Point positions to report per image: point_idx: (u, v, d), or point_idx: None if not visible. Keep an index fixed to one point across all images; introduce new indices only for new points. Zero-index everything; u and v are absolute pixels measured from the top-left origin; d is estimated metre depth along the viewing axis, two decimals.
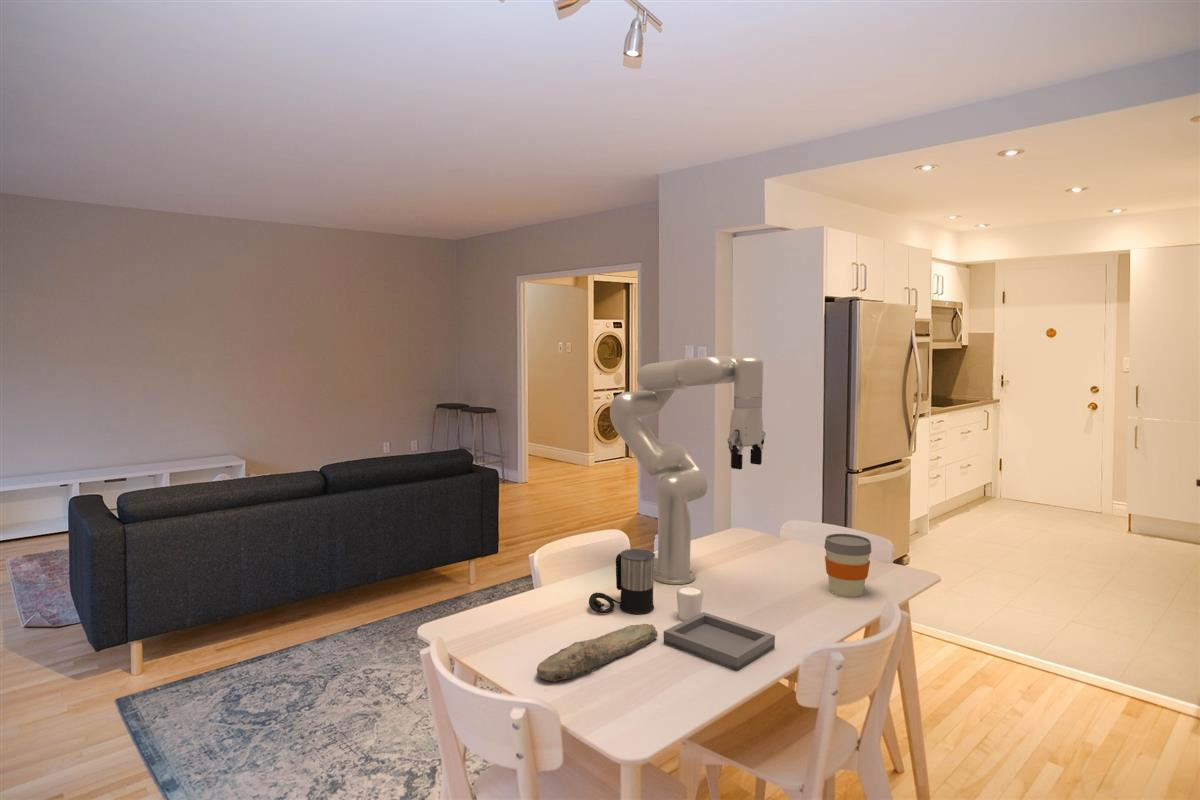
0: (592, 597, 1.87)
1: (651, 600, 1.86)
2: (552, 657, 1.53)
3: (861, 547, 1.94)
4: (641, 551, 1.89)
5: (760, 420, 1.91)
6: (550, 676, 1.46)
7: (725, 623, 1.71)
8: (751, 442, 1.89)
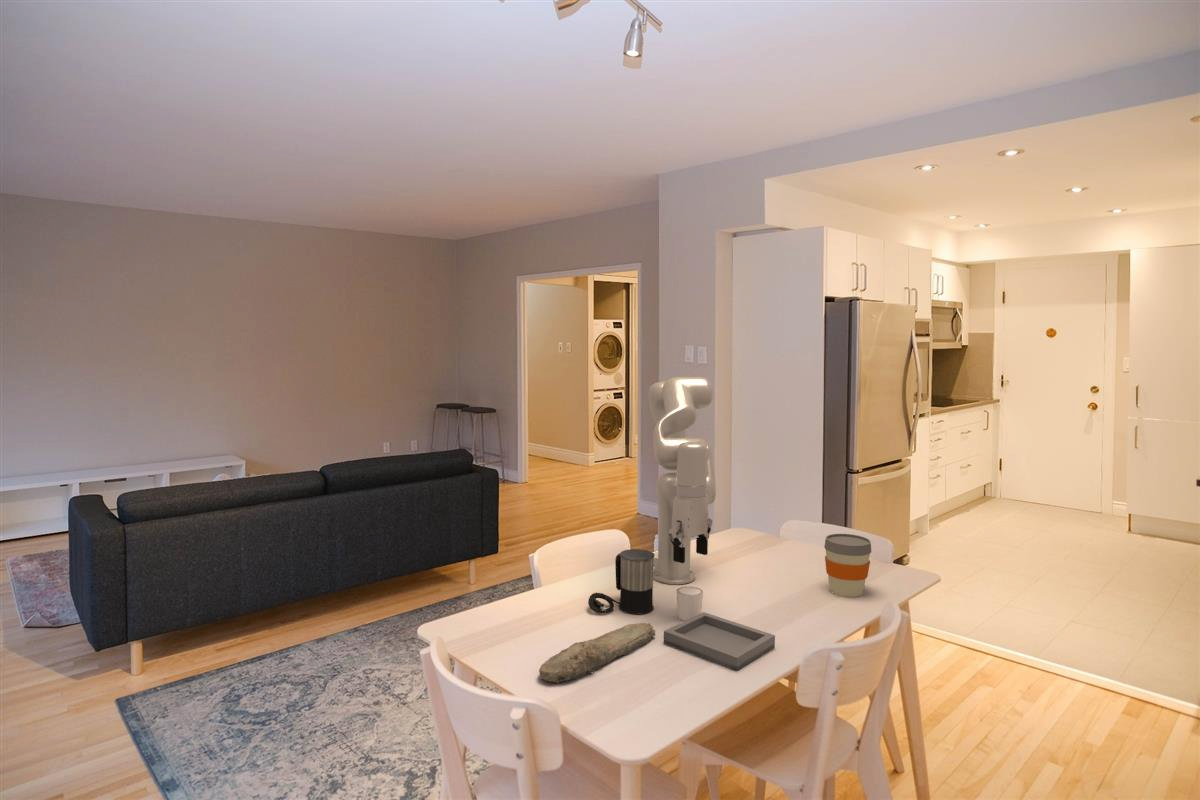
0: (592, 597, 1.87)
1: (651, 600, 1.86)
2: (554, 658, 1.52)
3: (861, 547, 1.94)
4: (641, 551, 1.89)
5: (705, 509, 1.80)
6: (553, 677, 1.46)
7: (725, 623, 1.71)
8: (695, 533, 1.77)
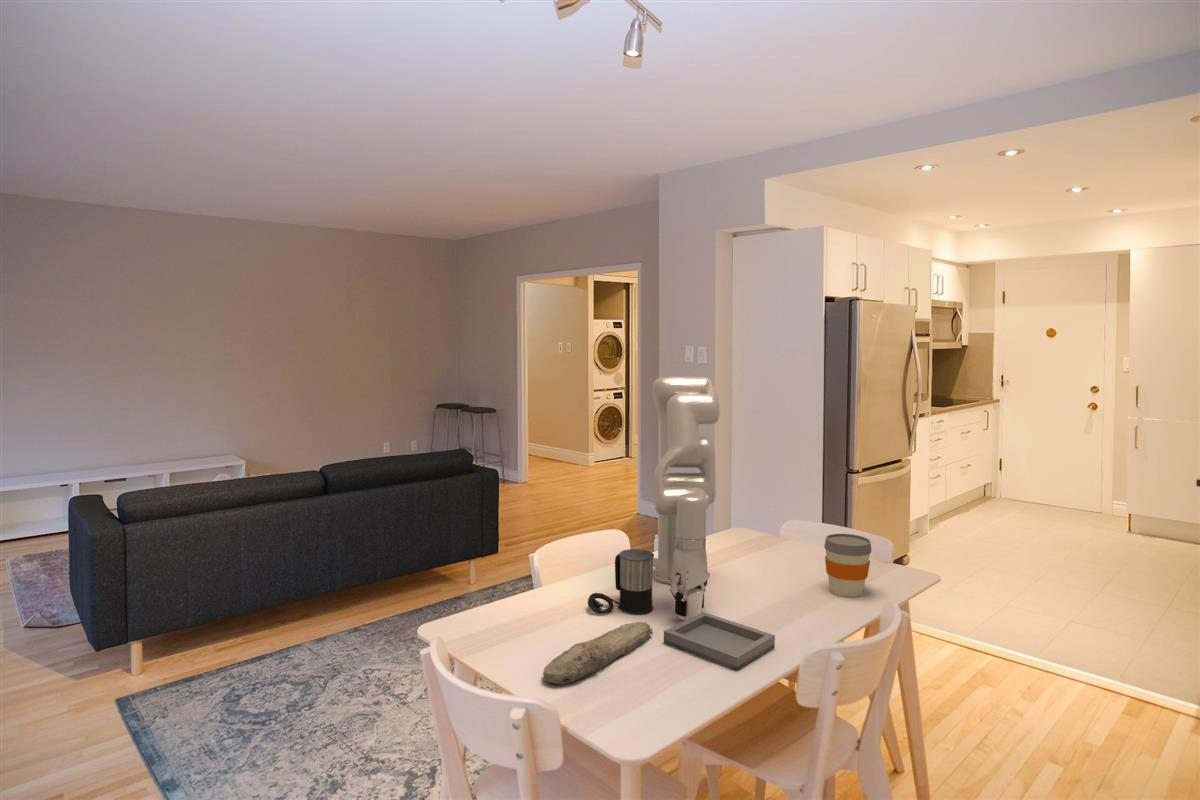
0: (591, 597, 1.87)
1: (650, 600, 1.86)
2: (556, 660, 1.51)
3: (861, 547, 1.94)
4: (640, 551, 1.89)
5: (704, 560, 1.81)
6: (559, 679, 1.45)
7: (725, 623, 1.71)
8: (694, 585, 1.79)
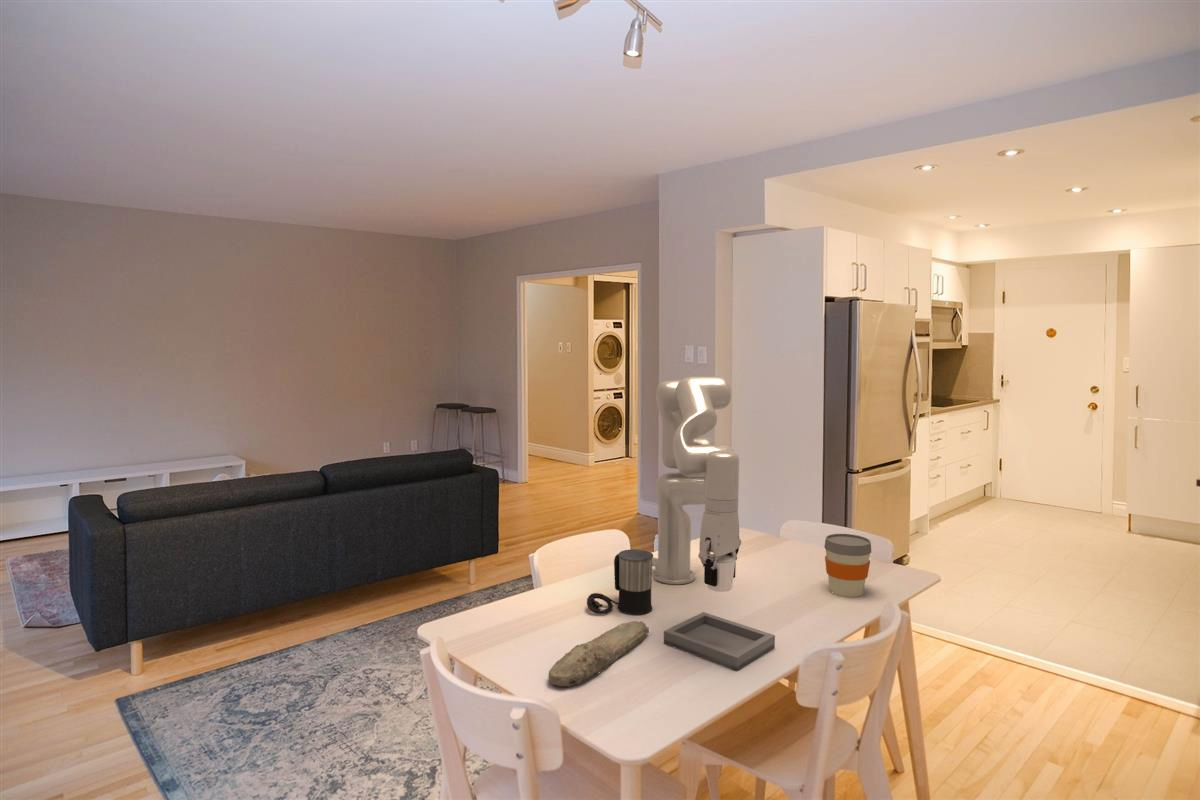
0: (590, 597, 1.87)
1: (649, 601, 1.85)
2: (560, 662, 1.51)
3: (861, 547, 1.94)
4: (639, 552, 1.89)
5: (736, 524, 1.63)
6: (565, 681, 1.44)
7: (725, 623, 1.71)
8: (725, 551, 1.61)
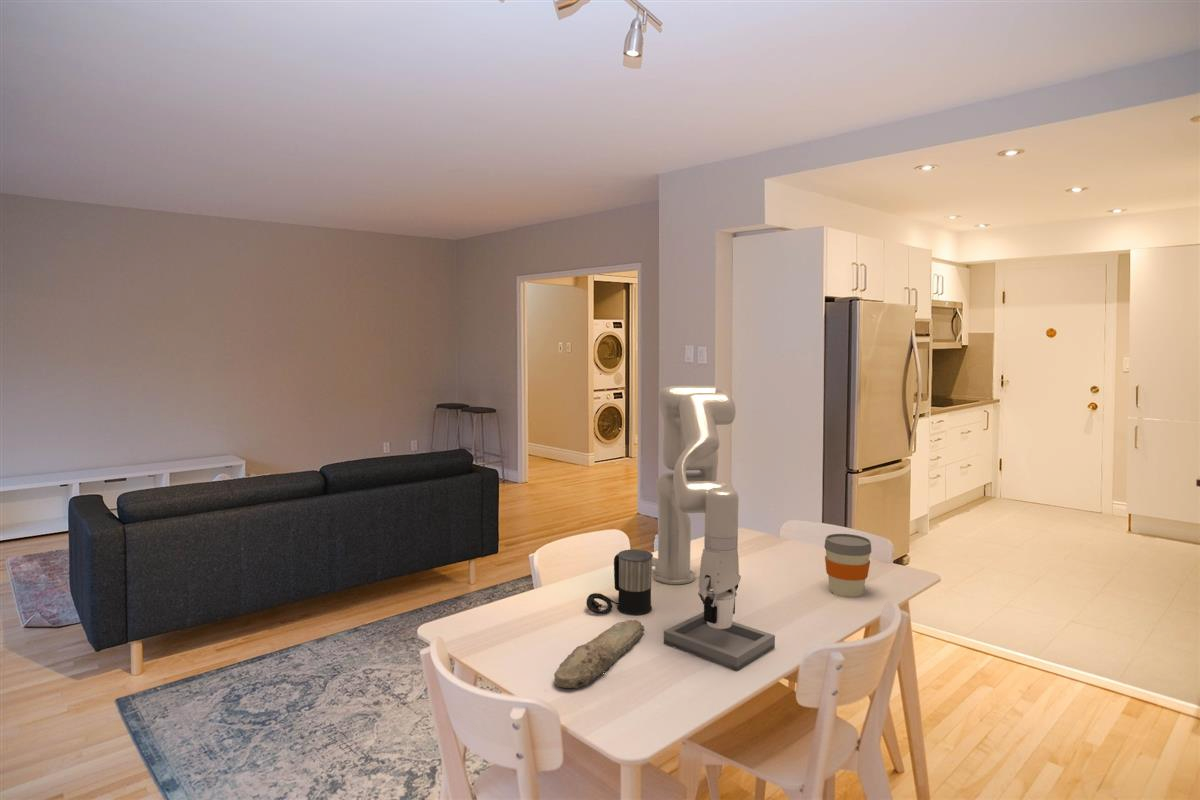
0: (590, 598, 1.87)
1: (649, 601, 1.85)
2: (565, 664, 1.50)
3: (861, 547, 1.94)
4: (639, 552, 1.89)
5: (735, 561, 1.64)
6: (573, 683, 1.44)
7: None
8: (725, 588, 1.62)
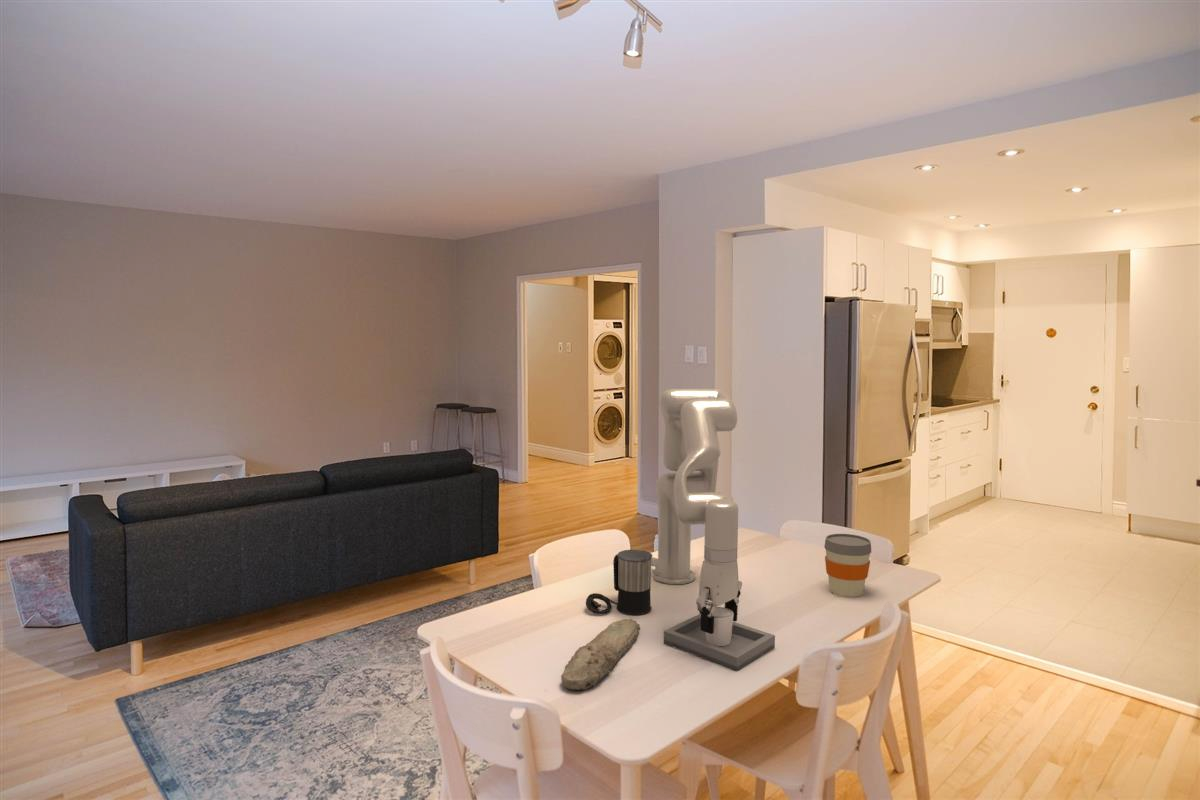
0: (589, 598, 1.87)
1: (648, 601, 1.85)
2: (571, 666, 1.49)
3: (861, 547, 1.94)
4: (638, 552, 1.89)
5: (735, 572, 1.64)
6: (582, 685, 1.43)
7: None
8: (724, 600, 1.62)
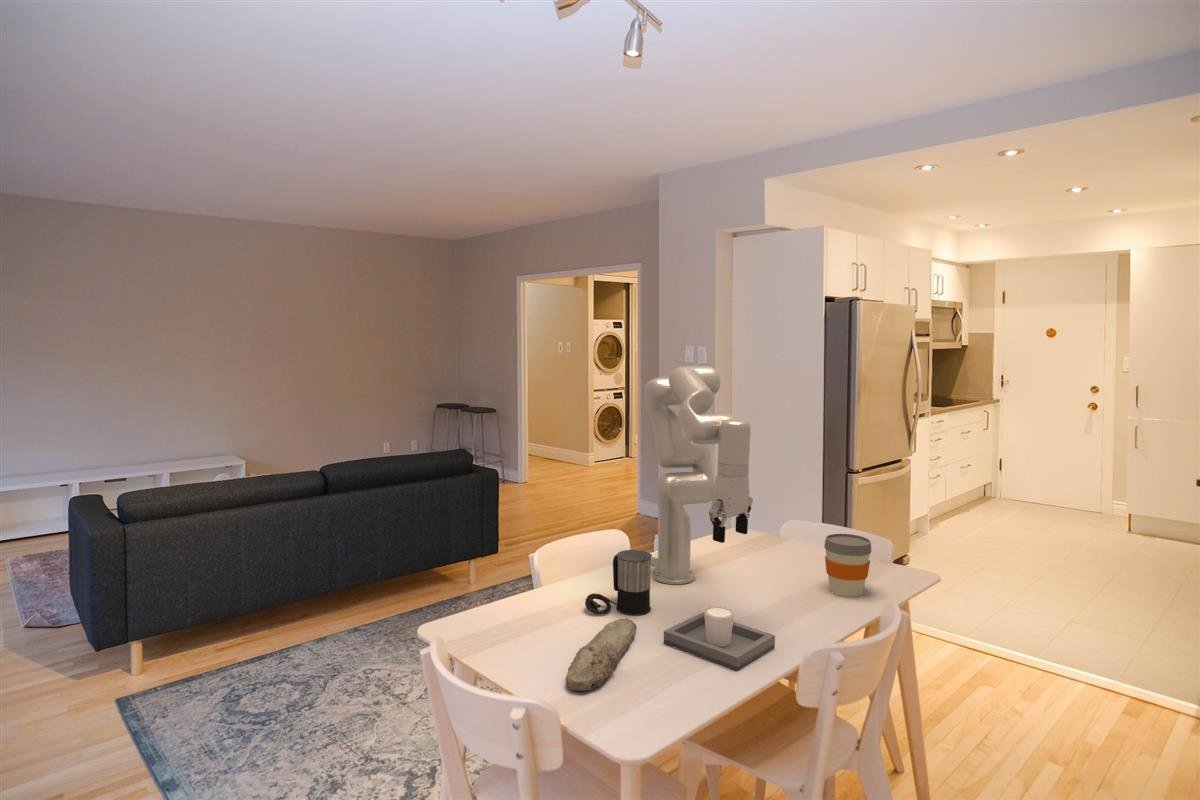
0: (589, 598, 1.87)
1: (648, 601, 1.85)
2: (574, 667, 1.48)
3: (861, 547, 1.94)
4: (638, 552, 1.88)
5: (746, 487, 1.75)
6: (588, 685, 1.43)
7: None
8: (735, 512, 1.73)
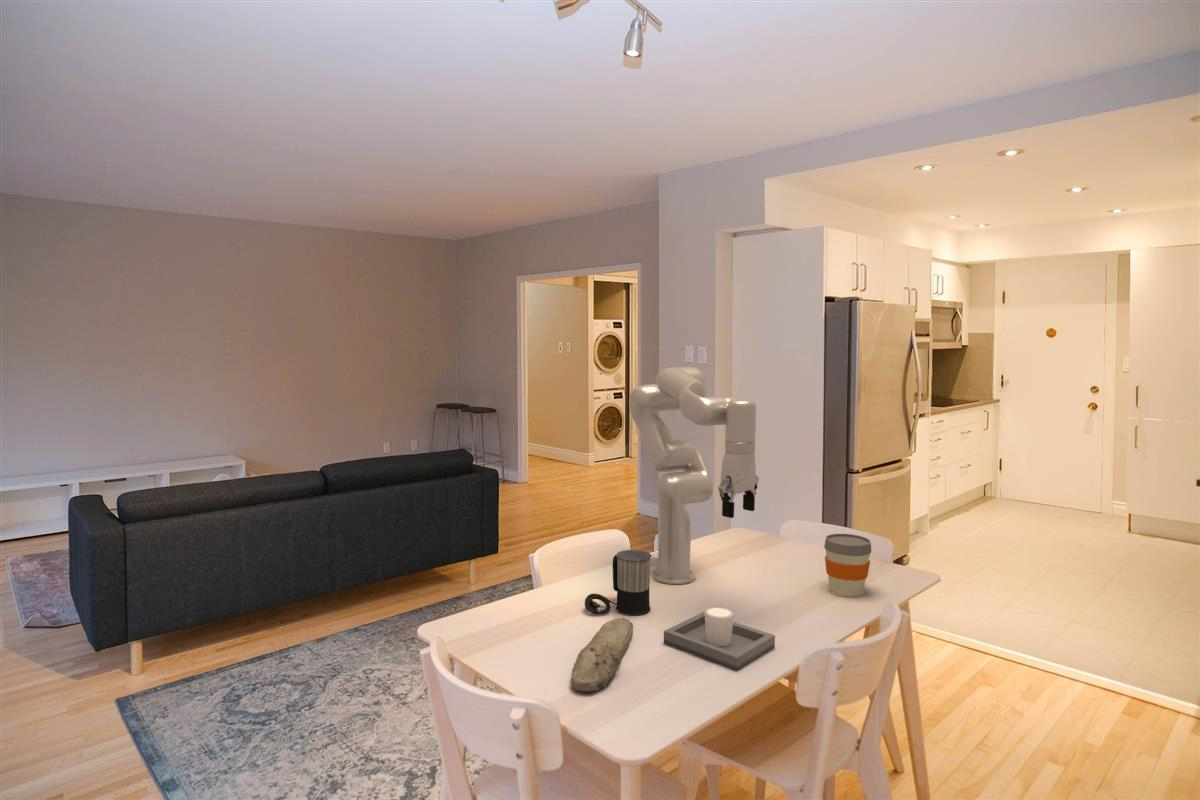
0: (588, 598, 1.87)
1: (647, 601, 1.85)
2: (578, 668, 1.48)
3: (861, 547, 1.94)
4: (638, 552, 1.88)
5: (753, 465, 1.82)
6: (595, 686, 1.42)
7: None
8: (743, 489, 1.80)
